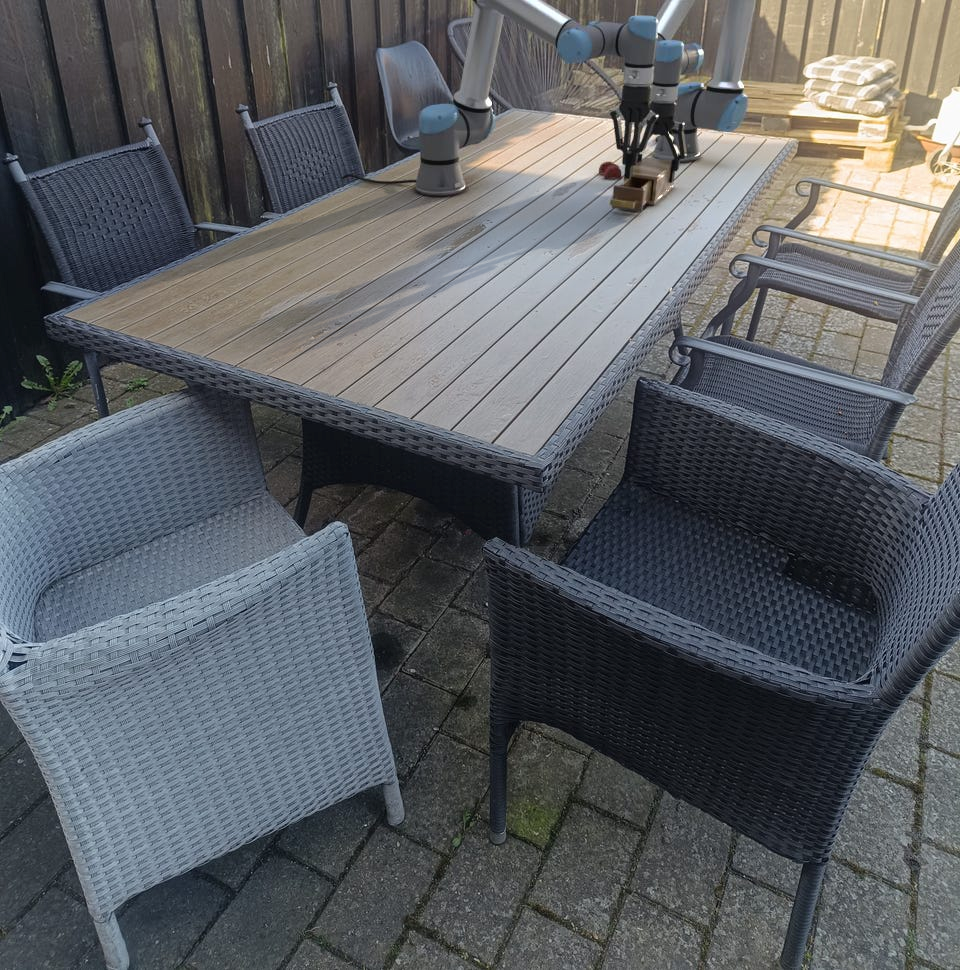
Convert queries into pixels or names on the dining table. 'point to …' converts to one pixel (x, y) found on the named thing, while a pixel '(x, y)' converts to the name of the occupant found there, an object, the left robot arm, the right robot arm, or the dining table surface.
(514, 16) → the left robot arm
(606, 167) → the dental model
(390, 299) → the dining table surface
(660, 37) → the right robot arm
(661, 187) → the cabinet
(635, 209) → the drawer
